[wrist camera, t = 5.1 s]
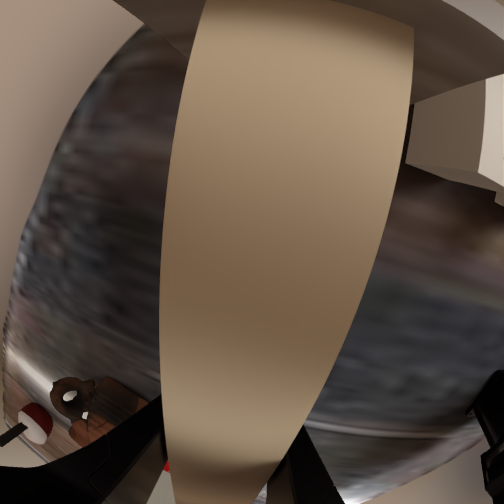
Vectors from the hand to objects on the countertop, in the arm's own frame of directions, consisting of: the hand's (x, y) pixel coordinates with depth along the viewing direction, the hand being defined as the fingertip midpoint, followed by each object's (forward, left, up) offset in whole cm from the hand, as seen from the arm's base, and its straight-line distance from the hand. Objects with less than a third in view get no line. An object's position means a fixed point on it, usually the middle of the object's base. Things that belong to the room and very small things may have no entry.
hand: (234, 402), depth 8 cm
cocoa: (-33, +30, -9) cm, 46 cm away
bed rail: (-1, 0, -2) cm, 2 cm away
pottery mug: (-17, +12, -10) cm, 23 cm away
